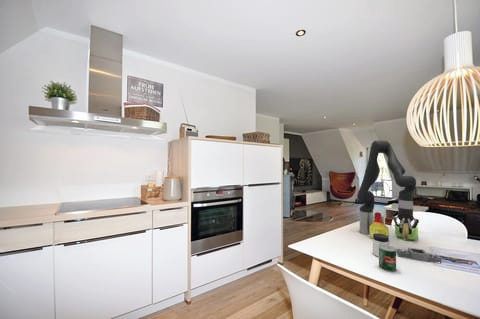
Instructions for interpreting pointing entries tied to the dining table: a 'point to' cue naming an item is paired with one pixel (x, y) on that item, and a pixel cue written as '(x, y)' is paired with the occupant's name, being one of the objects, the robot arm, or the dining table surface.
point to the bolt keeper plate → (418, 255)
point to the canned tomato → (387, 258)
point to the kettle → (412, 236)
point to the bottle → (378, 226)
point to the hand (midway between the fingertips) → (405, 233)
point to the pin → (405, 230)
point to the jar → (379, 242)
